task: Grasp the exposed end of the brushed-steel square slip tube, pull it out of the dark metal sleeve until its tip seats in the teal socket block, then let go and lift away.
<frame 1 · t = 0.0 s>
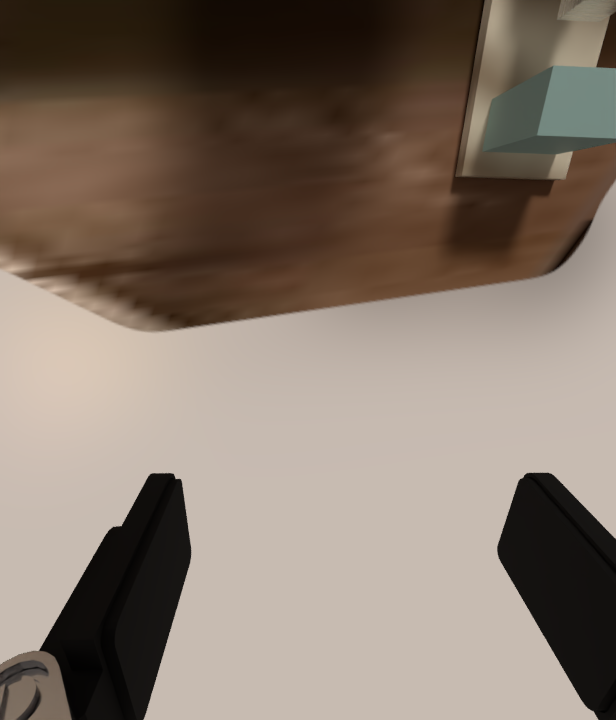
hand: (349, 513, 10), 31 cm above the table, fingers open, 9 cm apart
socket block: (515, 130, 34), resting on base board
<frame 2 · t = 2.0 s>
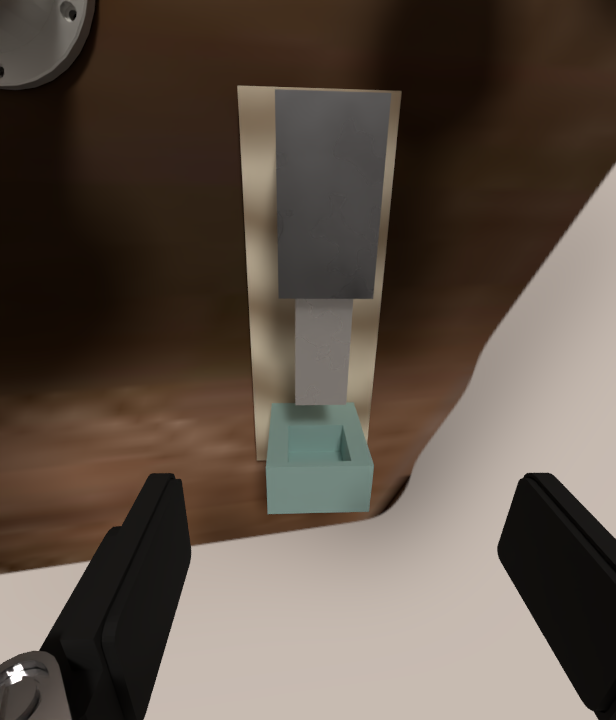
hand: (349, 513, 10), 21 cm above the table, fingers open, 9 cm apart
base board: (313, 306, 29), on the table
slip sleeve: (316, 204, 26), resting on base board
slip tube: (322, 271, 21), point 7 cm above the table, slide at 0.0 cm
socket block: (311, 413, 33), resting on base board
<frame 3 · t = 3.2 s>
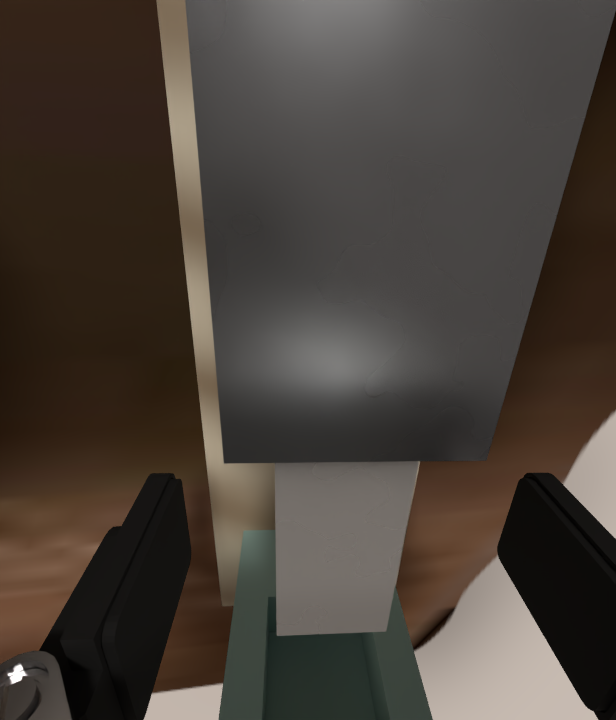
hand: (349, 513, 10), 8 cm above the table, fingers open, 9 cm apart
base board: (315, 377, 17), on the table
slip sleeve: (323, 200, 14), resting on base board
slip tube: (342, 359, 9), point 7 cm above the table, slide at 0.0 cm
socket block: (309, 532, 21), resting on base board
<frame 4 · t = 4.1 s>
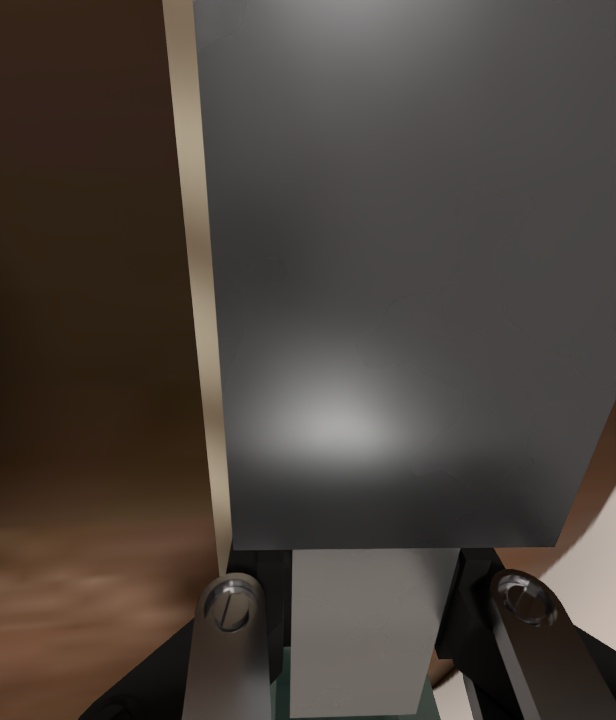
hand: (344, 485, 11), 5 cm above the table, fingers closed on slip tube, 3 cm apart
base board: (330, 405, 15), on the table
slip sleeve: (341, 217, 13), resting on base board
slip tube: (371, 408, 7), point 7 cm above the table, slide at 0.0 cm, touching gripper
socket block: (320, 567, 19), resting on base board
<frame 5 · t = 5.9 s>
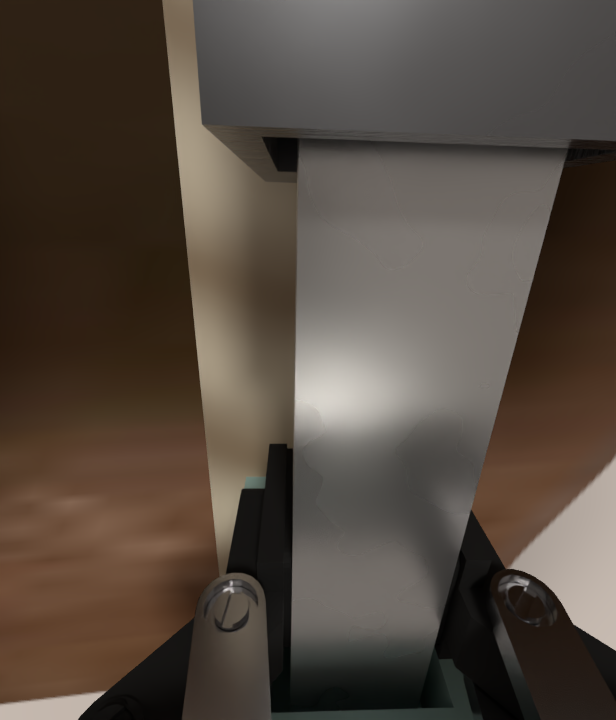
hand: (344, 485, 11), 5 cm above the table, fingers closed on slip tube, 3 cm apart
base board: (337, 277, 13), on the table
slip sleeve: (353, 14, 10), resting on base board
slip tube: (371, 408, 7), point 7 cm above the table, slide at 5.5 cm, touching gripper
socket block: (325, 488, 17), resting on base board
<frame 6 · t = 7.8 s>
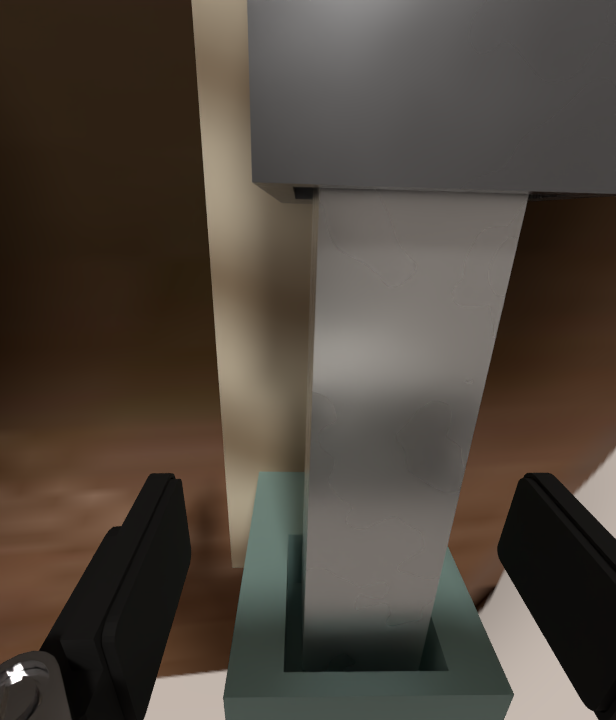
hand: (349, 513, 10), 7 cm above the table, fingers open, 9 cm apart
base board: (345, 287, 15), on the table
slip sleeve: (360, 56, 12), resting on base board
slip tube: (375, 403, 9), point 7 cm above the table, slide at 5.5 cm
socket block: (332, 484, 18), resting on base board
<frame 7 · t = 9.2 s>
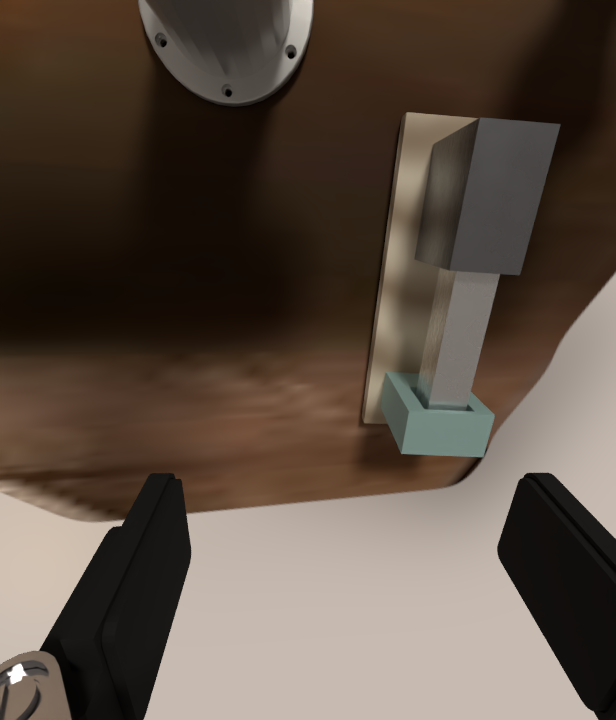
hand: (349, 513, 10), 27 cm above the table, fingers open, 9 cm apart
base board: (429, 291, 35), on the table
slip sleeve: (445, 207, 32), resting on base board
slip tube: (456, 326, 29), point 7 cm above the table, slide at 5.5 cm
socket block: (412, 385, 38), resting on base board
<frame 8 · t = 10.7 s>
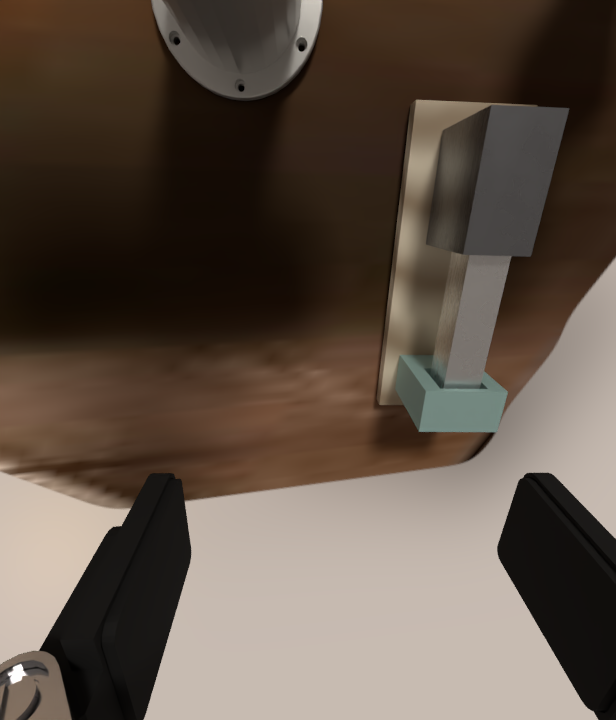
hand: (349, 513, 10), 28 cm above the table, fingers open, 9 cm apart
base board: (440, 275, 36), on the table
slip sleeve: (454, 192, 33), resting on base board
slip tube: (469, 307, 30), point 7 cm above the table, slide at 5.5 cm
socket block: (425, 366, 40), resting on base board
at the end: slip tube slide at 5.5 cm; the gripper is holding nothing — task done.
